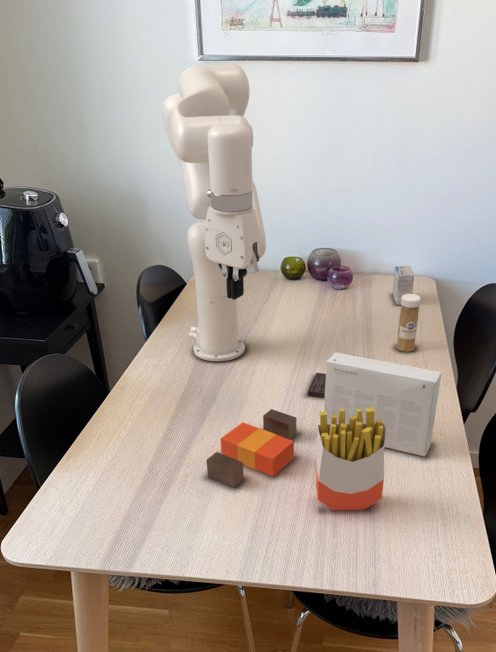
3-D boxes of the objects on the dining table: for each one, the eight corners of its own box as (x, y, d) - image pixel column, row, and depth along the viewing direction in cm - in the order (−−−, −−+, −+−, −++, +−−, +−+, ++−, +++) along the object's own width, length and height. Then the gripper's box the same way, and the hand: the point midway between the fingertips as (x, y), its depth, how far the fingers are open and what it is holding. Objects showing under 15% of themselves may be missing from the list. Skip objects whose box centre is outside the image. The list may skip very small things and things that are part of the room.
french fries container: (380, 510, 114) (390, 421, 104) (317, 512, 114) (320, 423, 104) (376, 494, 118) (385, 406, 108) (315, 495, 118) (318, 408, 107)
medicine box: (411, 305, 187) (414, 275, 183) (395, 305, 188) (398, 275, 183) (407, 294, 194) (410, 265, 189) (391, 294, 194) (394, 265, 189)
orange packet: (221, 455, 128) (220, 438, 126) (243, 438, 133) (242, 421, 130) (272, 477, 122) (272, 459, 120) (293, 458, 127) (294, 440, 125)
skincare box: (432, 443, 131) (443, 371, 122) (425, 457, 127) (436, 384, 118) (331, 419, 138) (334, 350, 129) (321, 433, 134) (324, 362, 125)
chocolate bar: (316, 372, 153) (395, 381, 149) (316, 376, 153) (394, 385, 150) (307, 391, 146) (390, 401, 142) (307, 395, 146) (390, 405, 142)
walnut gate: (207, 477, 122) (206, 459, 120) (271, 425, 137) (271, 408, 134) (234, 488, 120) (233, 470, 117) (296, 434, 134) (296, 417, 132)
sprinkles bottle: (402, 353, 163) (408, 301, 155) (392, 346, 166) (397, 294, 159) (418, 350, 164) (424, 298, 157) (408, 343, 168) (414, 291, 160)
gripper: (186, 198, 121) (194, 294, 132) (252, 213, 114) (254, 312, 125) (213, 189, 126) (218, 282, 137) (277, 202, 119) (277, 299, 130)
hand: (235, 296), depth 131 cm, fingers closed
